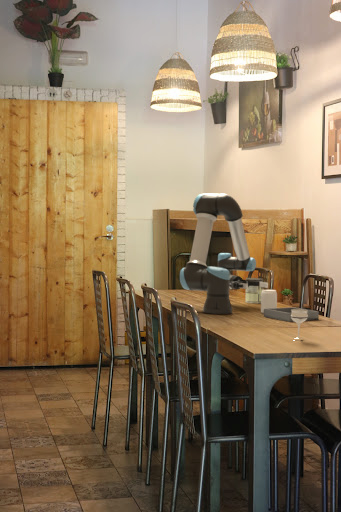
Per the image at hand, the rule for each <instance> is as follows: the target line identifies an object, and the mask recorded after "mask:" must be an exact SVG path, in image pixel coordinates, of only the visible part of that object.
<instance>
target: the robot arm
mask: <svg viewBox="0 0 341 512" xmlns="http://www.w3.org/2000/svg"><path fill="white" fill-rule="evenodd" d="M192 206H193V207H192V209H193V213H194V215H195V218H196V219H197V222H196V227H195V232H194V237H193V242H192V247H191V253H190V258H189V261H188V262H186V263H185V267H182V268H181V269H180V270H179V282H180V285H181V287H182V288H183V289H184V290H186V291H187V290H188V291H197V292H198V291H200V292H206V298H205V301H204V304H203V306H202V313H204V314H210V315H211V314H212V315H213V314H214V315H216V314H217V315H230V314H233V307H232V303H231V299H230V290H240V289H243V290H246V289H248V287H249V286H259V287H263V289H264V288H266V289H268V288H269V282H264V280H263V281H262V280H261V281H250V280H246V279H243V278H242V276H240V275H234V274H232V271H241V272H253V271H255V269H256V267H257V260H256V259H255V257H251V256H250V250H249V246H248V242H247V237H246V233H245V230H244V225H243V220H242V219H243V212H242V209H241V206H240V205H239V203H238V202H237V200H236V199H235V198H234V197H232V196H231V195H230V194H227V193H207V192H206V193H200V194H198V195H197V196H196V197H195V198H194V201H193V205H192ZM218 216H223V217H224V220H225V221H226V222H227V224H228V228H229V233H230V237H231V241H232V245H233V249H234V253H235V256H232V253H229V252H220V253H218V255H217V266H211V265H210V266H208V265H207V264H206V263H207V259H208V253H209V250H210V249H209V248H210V242H211V236H212V231H213V228H214V227H213V226H214V222H216V221H217V219H218ZM247 281H248V282H247Z"/></svg>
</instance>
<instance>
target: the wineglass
mask: <svg viewBox="0 0 341 512" xmlns="http://www.w3.org/2000/svg"><path fill="white" fill-rule="evenodd" d="M302 309H303V308H301V309H292V310H291V311H292V313H291V319H292V320H293V321H292V322H294V323H296V325H297V337H296V338H294V339H302V338H300V329H301V328H300V327H301V324H302V323H304V322H305V320H306V319H307V317H308V315H307V311H308V310H309V309H306V310H302Z"/></svg>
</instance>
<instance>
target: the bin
mask: <svg viewBox="0 0 341 512" xmlns="http://www.w3.org/2000/svg"><path fill="white" fill-rule="evenodd" d="M292 309H302V310H308V311H307V315H308V317H307V319H306V320H305V321H307V322H308V321H318V320H319V311H317V310H313V309H306V308H300V307H295V306H291V307H290V306H289V307H277V308H269V309H264V313H263V317H265V318H268V319H272V320H277V321H283V322H288V323H289V322H294V321H293V320H292V319H291V313H292V311H291V310H292ZM305 321H304V322H305Z"/></svg>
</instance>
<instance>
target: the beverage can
mask: <svg viewBox="0 0 341 512" xmlns="http://www.w3.org/2000/svg"><path fill="white" fill-rule="evenodd" d="M277 304H278V293H277V290H276V289H263V290H262V292H261V303H260V312H261V313H262V314H264V309H269V308H278V305H277Z"/></svg>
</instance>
